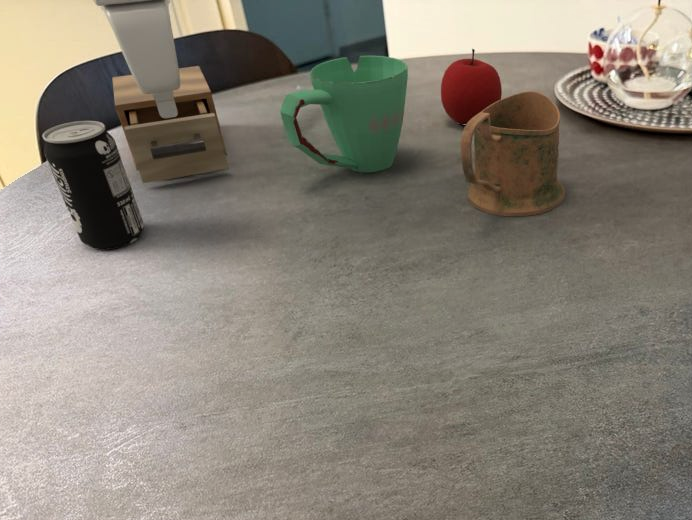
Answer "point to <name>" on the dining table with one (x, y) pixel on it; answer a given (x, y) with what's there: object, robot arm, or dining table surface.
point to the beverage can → (93, 184)
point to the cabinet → (133, 98)
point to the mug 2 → (514, 156)
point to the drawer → (175, 142)
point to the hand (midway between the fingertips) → (169, 114)
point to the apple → (469, 88)
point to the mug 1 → (354, 111)
